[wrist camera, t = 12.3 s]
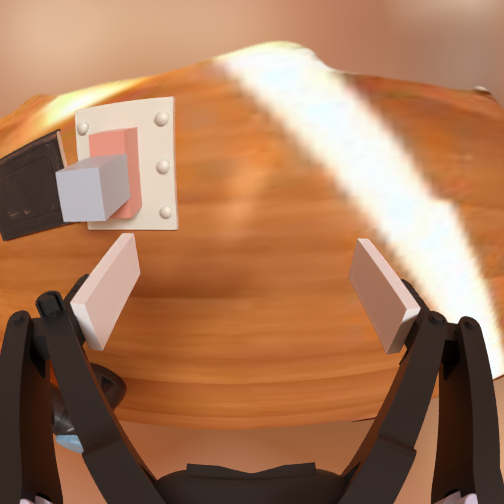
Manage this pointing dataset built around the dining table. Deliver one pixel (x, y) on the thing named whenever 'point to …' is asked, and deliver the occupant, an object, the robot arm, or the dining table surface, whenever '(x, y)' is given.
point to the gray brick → (93, 188)
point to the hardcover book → (31, 187)
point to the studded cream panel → (136, 159)
